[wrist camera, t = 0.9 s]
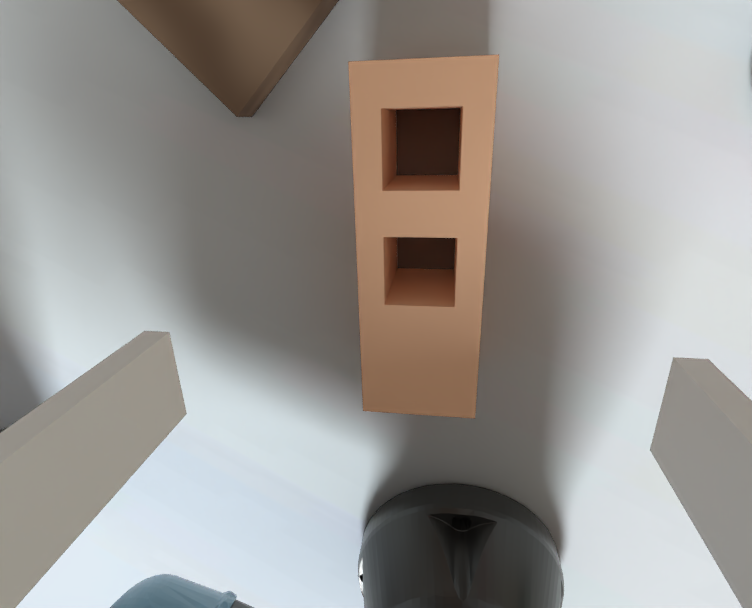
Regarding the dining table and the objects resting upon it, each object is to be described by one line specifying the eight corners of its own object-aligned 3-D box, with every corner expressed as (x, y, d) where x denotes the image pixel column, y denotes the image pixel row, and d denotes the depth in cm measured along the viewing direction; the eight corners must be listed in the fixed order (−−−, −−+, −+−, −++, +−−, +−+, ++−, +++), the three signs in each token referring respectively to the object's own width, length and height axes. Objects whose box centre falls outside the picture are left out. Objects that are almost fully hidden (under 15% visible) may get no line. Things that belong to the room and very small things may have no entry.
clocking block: (470, 362, 30) (475, 418, 24) (378, 358, 31) (363, 410, 25) (487, 69, 23) (499, 54, 18) (371, 73, 24) (348, 61, 19)
